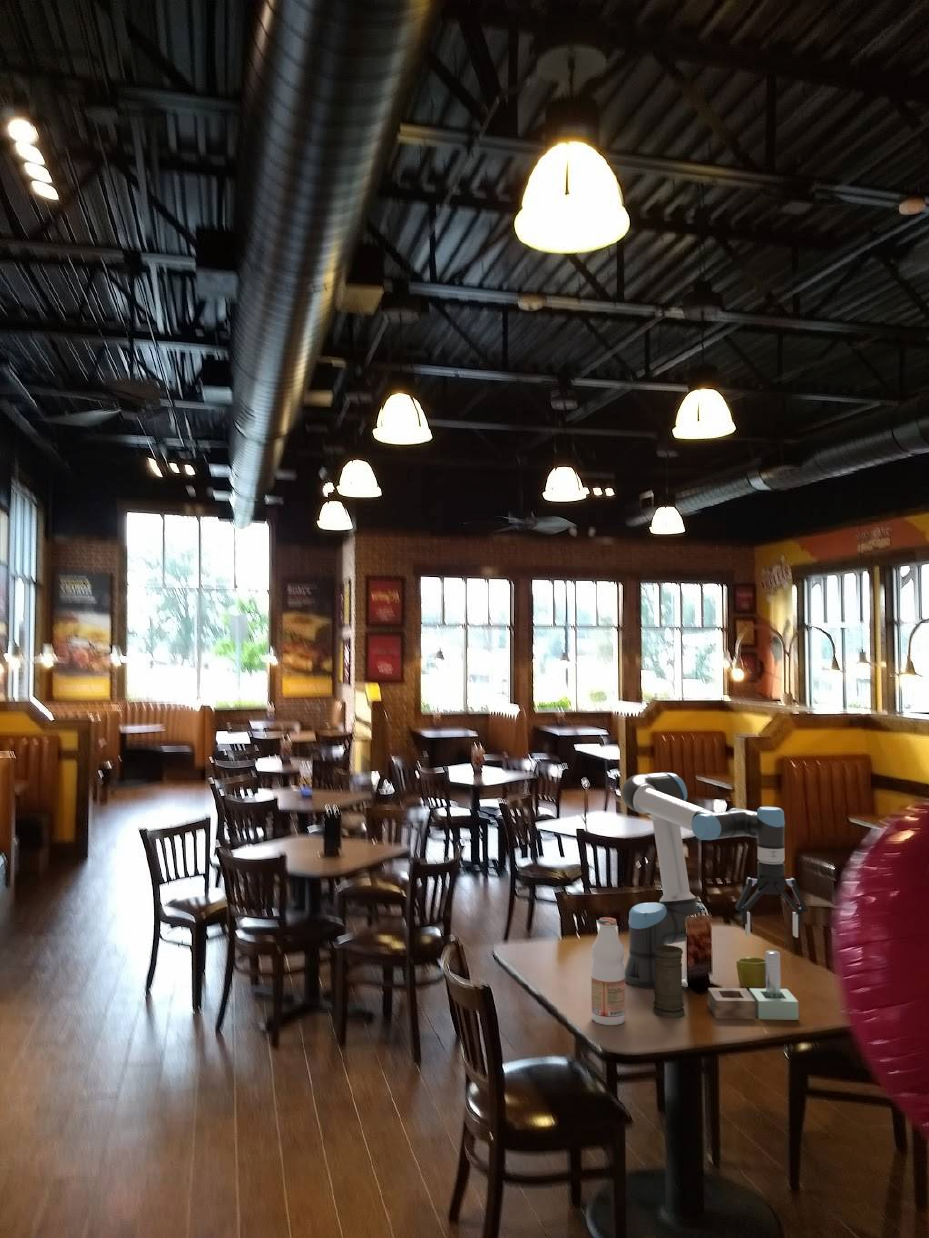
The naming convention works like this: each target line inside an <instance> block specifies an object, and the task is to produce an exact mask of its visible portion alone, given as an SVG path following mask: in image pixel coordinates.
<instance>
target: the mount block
mask: <svg viewBox="0 0 929 1238" xmlns="http://www.w3.org/2000/svg"><path fill="white" fill-rule="evenodd" d="M707 1006H708V1007H709V1010H710V1011H711V1013H712V1014H713V1016H714V1017H715V1019H717V1020H718V1019H722V1020H756V1014H755V1000H754V999H753V997H752V996H751V995H750V993H749V991H748V989H746V988H743V987H708V988H707Z"/></svg>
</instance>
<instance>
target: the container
mask: <svg viewBox="0 0 929 1238" xmlns="http://www.w3.org/2000/svg"><path fill="white" fill-rule="evenodd" d="M653 952H654V956H655V962H654V965H655V988H654V992H653V994H654V1001H652V1002H653V1007H652V1010H653V1011H652V1012H653V1014H656V1015H658V1016H660V1017H665V1018H671V1019H672V1018H680V1017H683V1016H684V1015H685V1008H684V1006H685V1004H684V1002H683V997H684V996H683V995H684V993H683V980H682V979H683V975H682V974H683V971H682V970H683V969H682V967H683V964H682V959H683V954H684V951H683V948H681V947H679V946H676V945H671V944H668V945H661V946H656V947H654V949H653Z"/></svg>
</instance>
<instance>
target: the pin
mask: <svg viewBox="0 0 929 1238" xmlns="http://www.w3.org/2000/svg"><path fill="white" fill-rule="evenodd" d="M764 956H765V960H766V988H765V989H766V998H780V999H781V989H782V988H781V953H780V951H778V950H766V951H765V955H764Z"/></svg>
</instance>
